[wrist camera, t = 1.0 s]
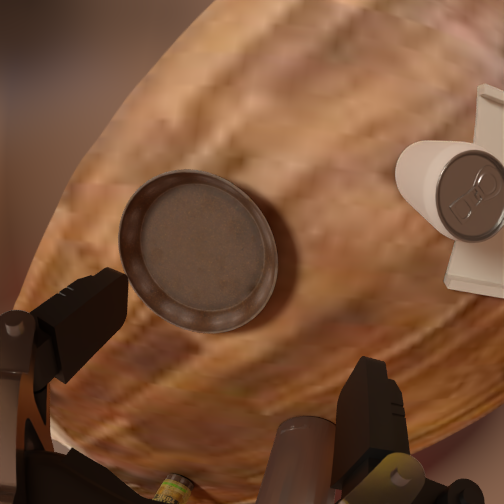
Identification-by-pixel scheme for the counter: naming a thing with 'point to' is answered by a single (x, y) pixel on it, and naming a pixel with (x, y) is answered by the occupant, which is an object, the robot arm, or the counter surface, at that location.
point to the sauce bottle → (174, 490)
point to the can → (454, 188)
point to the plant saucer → (198, 251)
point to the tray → (500, 246)
